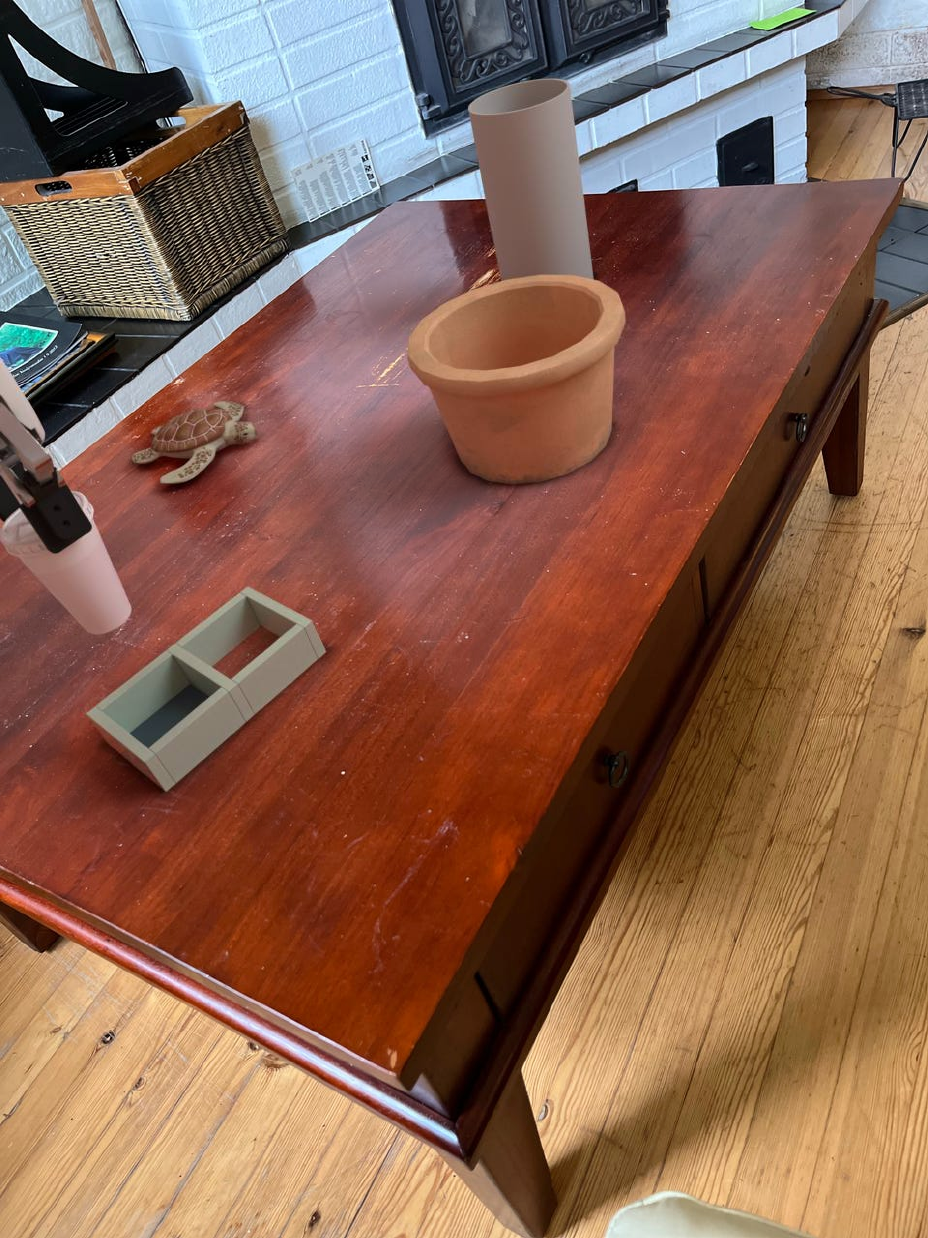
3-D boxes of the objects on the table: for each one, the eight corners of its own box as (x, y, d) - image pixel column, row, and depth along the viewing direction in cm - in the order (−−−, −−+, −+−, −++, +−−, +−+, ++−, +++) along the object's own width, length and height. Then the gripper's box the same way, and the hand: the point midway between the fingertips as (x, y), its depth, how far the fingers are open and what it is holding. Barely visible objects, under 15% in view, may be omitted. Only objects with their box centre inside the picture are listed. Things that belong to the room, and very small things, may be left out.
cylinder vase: (487, 301, 130) (448, 110, 113) (554, 265, 134) (525, 75, 117) (543, 322, 121) (510, 118, 104) (613, 283, 125) (591, 81, 108)
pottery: (491, 386, 112) (467, 272, 102) (665, 399, 101) (656, 274, 92) (402, 491, 99) (365, 372, 90) (590, 518, 89) (570, 387, 79)
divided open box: (170, 798, 74) (144, 762, 71) (111, 749, 80) (85, 713, 76) (329, 658, 82) (312, 620, 79) (265, 622, 88) (247, 585, 85)
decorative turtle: (235, 488, 107) (218, 452, 104) (115, 495, 112) (95, 461, 109) (286, 405, 120) (272, 370, 116) (176, 415, 124) (160, 382, 121)
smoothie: (50, 641, 69) (-60, 491, 60) (102, 584, 73) (7, 435, 64) (114, 652, 66) (9, 497, 57) (164, 593, 70) (75, 439, 61)
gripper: (-224, 289, 55) (-50, 522, 67) (-125, 332, 45) (60, 599, 57) (-108, 236, 58) (38, 467, 70) (9, 265, 48) (156, 530, 60)
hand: (46, 524), depth 63 cm, fingers closed on smoothie, 6 cm apart
